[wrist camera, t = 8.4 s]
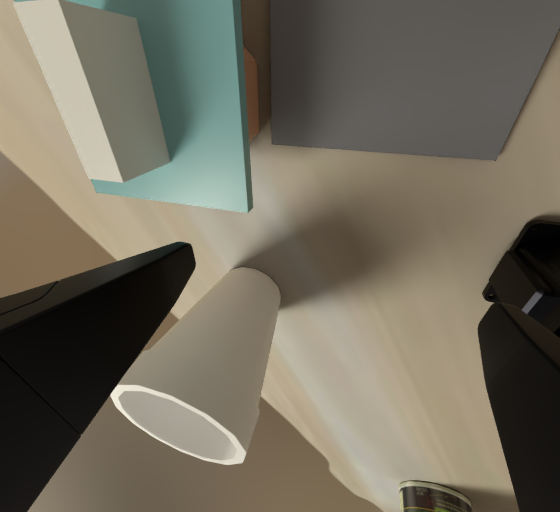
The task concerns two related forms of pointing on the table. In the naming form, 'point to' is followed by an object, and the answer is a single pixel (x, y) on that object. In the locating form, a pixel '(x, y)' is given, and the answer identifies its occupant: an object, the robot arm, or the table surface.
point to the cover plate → (194, 102)
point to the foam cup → (207, 371)
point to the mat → (405, 73)
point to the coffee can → (431, 498)
